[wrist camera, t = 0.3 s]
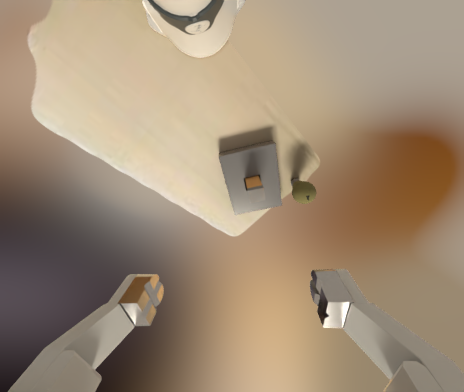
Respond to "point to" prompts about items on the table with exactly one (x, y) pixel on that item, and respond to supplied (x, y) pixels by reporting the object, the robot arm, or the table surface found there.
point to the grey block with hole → (250, 164)
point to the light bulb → (303, 191)
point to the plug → (255, 189)
